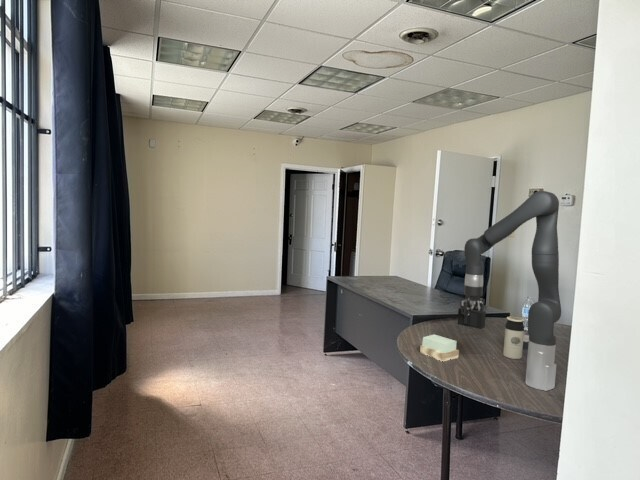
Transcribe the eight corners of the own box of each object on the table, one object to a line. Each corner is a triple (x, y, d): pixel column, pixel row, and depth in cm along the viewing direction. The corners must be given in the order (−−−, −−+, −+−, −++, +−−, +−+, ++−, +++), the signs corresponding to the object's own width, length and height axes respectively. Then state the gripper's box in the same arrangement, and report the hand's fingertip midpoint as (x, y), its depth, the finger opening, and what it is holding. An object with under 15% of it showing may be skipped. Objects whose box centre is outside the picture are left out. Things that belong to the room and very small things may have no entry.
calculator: (534, 336, 220) (528, 341, 208) (534, 344, 220) (527, 349, 208) (512, 331, 226) (504, 335, 215) (511, 339, 227) (503, 344, 215)
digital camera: (486, 327, 180) (487, 310, 180) (481, 329, 176) (482, 312, 176) (462, 322, 187) (463, 306, 187) (457, 324, 183) (458, 308, 183)
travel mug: (503, 352, 201) (506, 315, 200) (522, 355, 197) (525, 318, 196) (502, 357, 194) (505, 319, 193) (521, 360, 190) (524, 321, 189)
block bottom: (458, 358, 191) (458, 350, 190) (441, 362, 185) (442, 353, 184) (436, 350, 201) (436, 342, 201) (419, 353, 195) (420, 345, 195)
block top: (456, 349, 191) (456, 341, 191) (444, 353, 185) (445, 344, 185) (433, 342, 200) (434, 334, 200) (422, 345, 194) (422, 337, 194)
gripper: (470, 287, 173) (467, 327, 174) (491, 285, 181) (489, 323, 182) (455, 284, 180) (453, 323, 181) (476, 282, 188) (474, 319, 189)
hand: (471, 323), depth 182 cm, fingers closed on digital camera, 5 cm apart
